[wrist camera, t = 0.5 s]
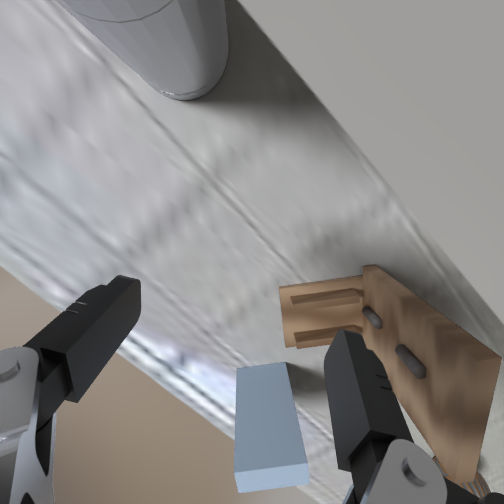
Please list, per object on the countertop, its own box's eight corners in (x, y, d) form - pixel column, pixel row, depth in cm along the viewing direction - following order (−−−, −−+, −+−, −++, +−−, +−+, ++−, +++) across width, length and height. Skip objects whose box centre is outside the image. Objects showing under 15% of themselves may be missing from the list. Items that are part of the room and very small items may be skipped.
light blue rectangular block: (236, 368, 36) (234, 472, 24) (285, 362, 36) (307, 463, 24) (239, 384, 37) (238, 493, 25) (287, 378, 37) (309, 483, 25)
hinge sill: (277, 276, 32) (312, 383, 16) (372, 263, 32) (501, 357, 16) (286, 353, 35) (321, 501, 20) (370, 341, 35) (473, 481, 20)
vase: (438, 441, 42) (486, 507, 34) (471, 450, 44) (525, 517, 35) (415, 467, 44) (456, 536, 36) (447, 475, 45) (493, 544, 37)
